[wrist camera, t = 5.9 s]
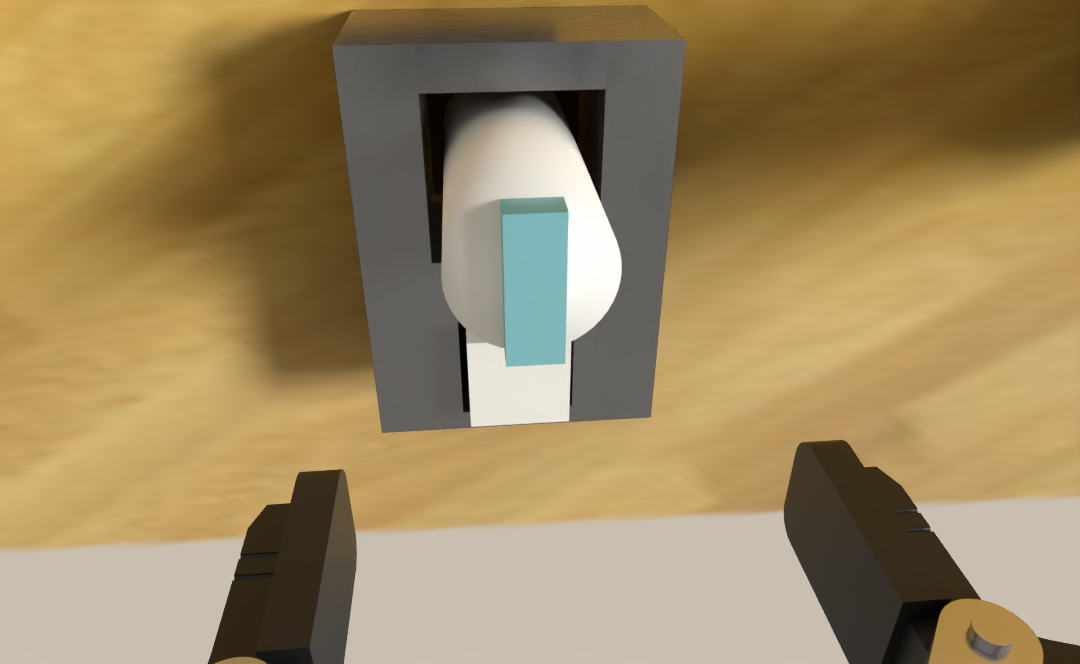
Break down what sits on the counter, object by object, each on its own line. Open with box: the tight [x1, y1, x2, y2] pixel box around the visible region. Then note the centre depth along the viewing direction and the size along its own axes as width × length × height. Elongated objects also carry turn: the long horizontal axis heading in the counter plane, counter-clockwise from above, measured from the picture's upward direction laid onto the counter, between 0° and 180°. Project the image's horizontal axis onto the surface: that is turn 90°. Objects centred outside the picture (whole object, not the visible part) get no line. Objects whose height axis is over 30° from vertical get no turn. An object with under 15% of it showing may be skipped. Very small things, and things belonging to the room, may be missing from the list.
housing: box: [332, 6, 686, 433], centre depth 31 cm, size 15×11×6 cm
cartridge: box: [441, 90, 622, 367], centre depth 26 cm, size 5×5×14 cm
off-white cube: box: [466, 329, 571, 427], centre depth 32 cm, size 4×4×5 cm
